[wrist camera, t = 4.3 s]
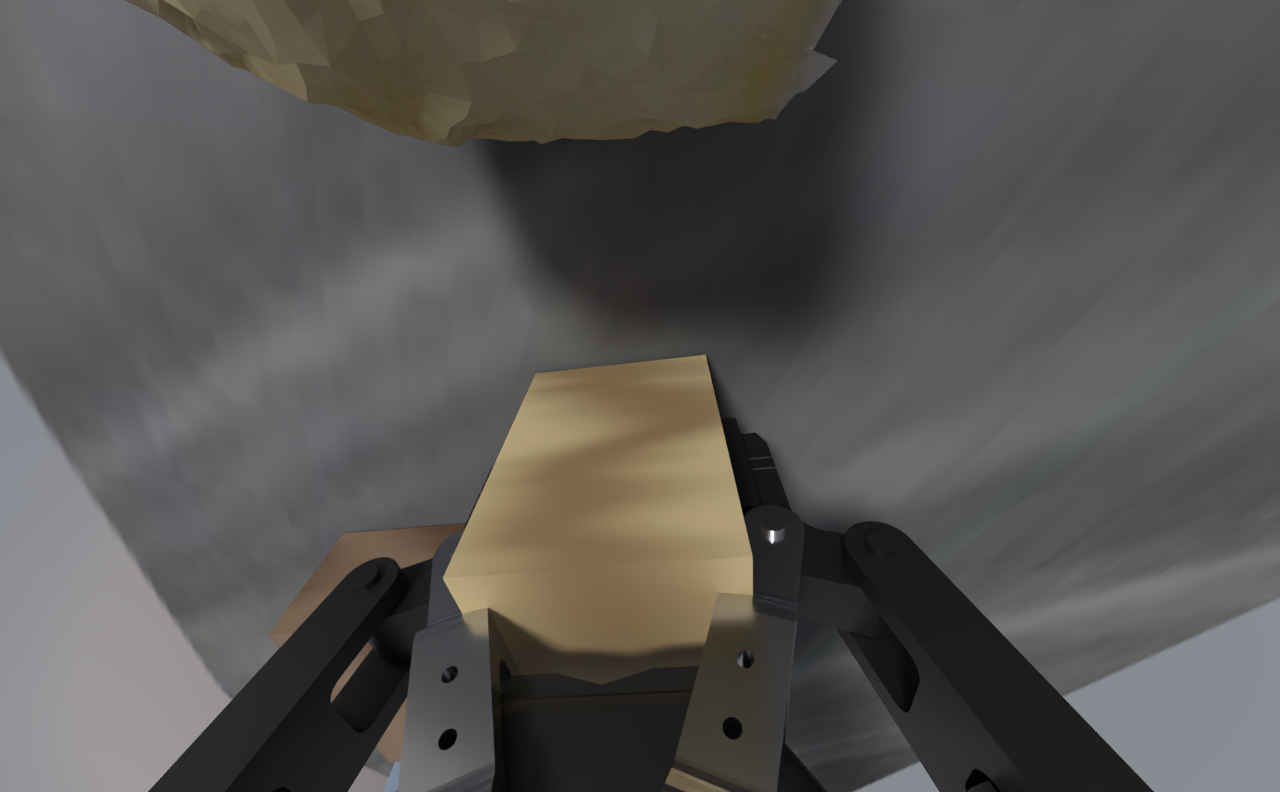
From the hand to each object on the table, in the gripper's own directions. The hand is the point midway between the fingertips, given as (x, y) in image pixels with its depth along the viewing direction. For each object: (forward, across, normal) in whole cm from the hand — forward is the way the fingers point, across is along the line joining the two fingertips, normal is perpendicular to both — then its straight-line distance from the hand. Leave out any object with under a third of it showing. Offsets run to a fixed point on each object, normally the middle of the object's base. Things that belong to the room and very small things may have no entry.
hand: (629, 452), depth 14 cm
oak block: (+1, 0, 0) cm, 1 cm away
